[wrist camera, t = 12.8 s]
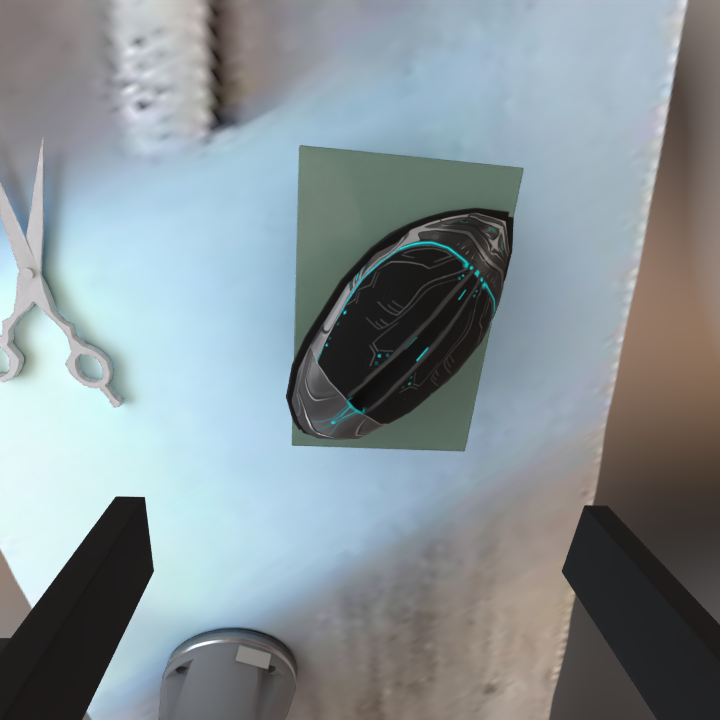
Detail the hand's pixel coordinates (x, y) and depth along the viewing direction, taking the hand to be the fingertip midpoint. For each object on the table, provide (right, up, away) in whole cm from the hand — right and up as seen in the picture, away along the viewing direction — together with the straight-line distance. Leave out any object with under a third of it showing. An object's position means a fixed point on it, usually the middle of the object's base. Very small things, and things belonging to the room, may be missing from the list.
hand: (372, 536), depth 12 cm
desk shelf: (+1, +11, +20) cm, 23 cm away
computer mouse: (+2, +8, +12) cm, 15 cm away
